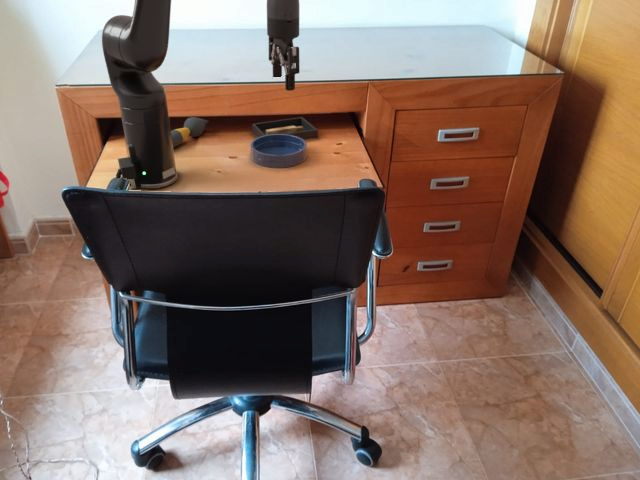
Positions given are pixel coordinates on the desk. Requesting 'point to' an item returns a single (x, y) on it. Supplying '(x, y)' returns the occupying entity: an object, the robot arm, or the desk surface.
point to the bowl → (278, 150)
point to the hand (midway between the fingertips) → (283, 85)
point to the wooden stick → (284, 130)
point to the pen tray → (307, 131)
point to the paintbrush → (188, 130)
